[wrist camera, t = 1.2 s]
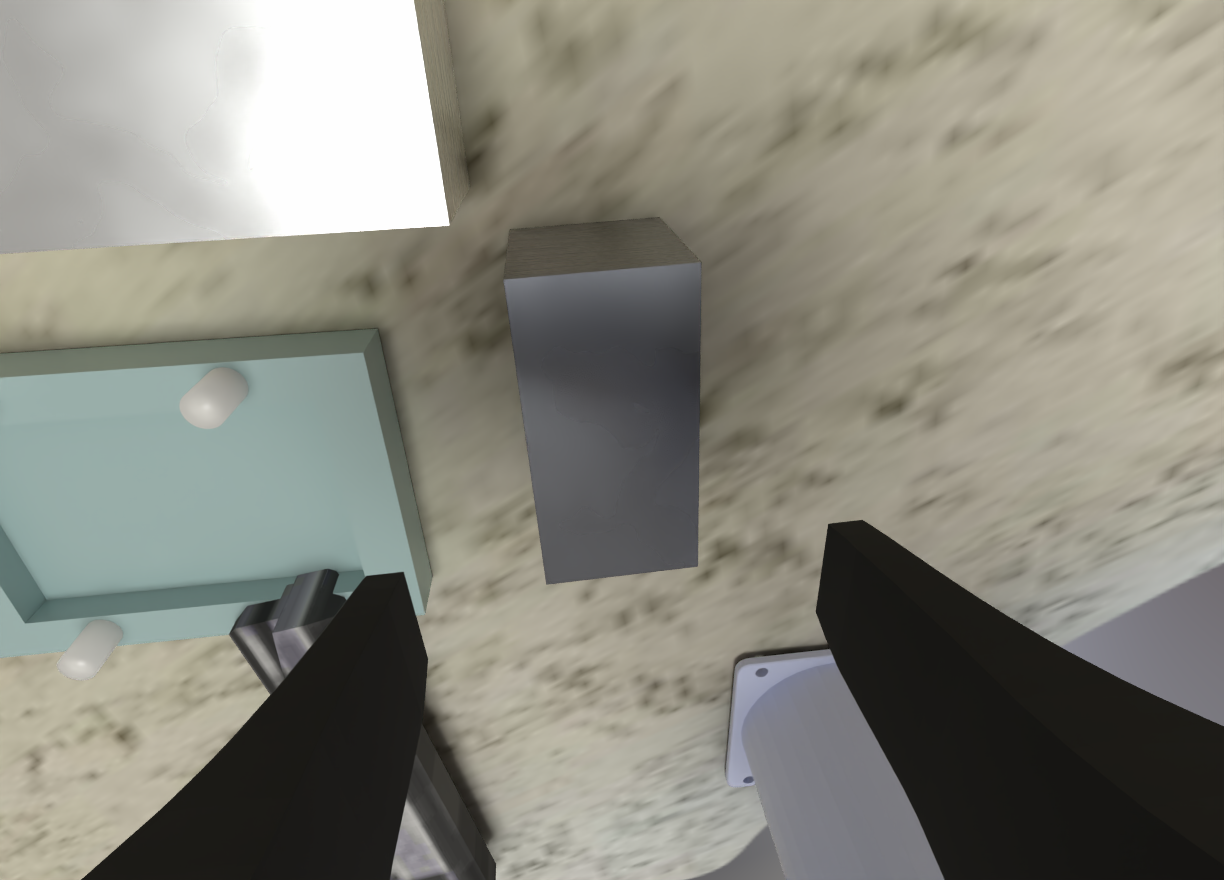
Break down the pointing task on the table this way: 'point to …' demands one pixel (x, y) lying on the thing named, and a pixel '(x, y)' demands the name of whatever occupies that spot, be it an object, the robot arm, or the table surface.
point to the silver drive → (224, 120)
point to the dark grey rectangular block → (609, 393)
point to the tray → (193, 487)
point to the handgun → (434, 812)
